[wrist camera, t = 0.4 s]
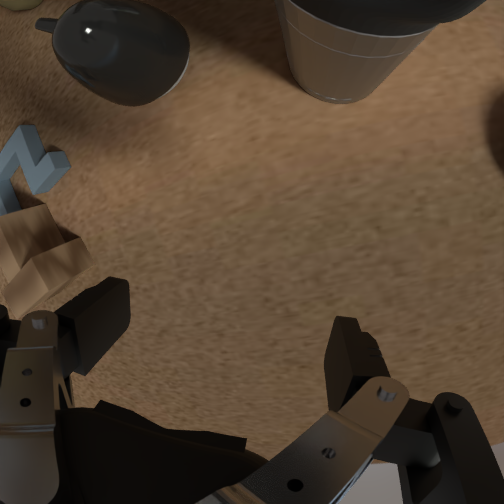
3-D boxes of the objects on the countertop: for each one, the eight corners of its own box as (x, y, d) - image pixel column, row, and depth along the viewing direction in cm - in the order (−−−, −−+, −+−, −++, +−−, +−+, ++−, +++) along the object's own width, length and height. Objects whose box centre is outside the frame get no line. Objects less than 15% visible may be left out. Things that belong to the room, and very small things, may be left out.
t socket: (71, 166, 33) (55, 168, 30) (11, 236, 38) (-2, 241, 35) (46, 110, 31) (31, 109, 28) (-9, 187, 36) (-22, 189, 33)
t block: (95, 264, 36) (48, 290, 27) (58, 293, 39) (16, 319, 30) (57, 191, 34) (5, 202, 26) (24, 229, 37) (-21, 245, 28)
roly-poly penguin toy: (141, 19, 26) (58, -33, 12) (219, 38, 26) (154, -36, 12) (103, 96, 30) (2, 78, 15) (175, 124, 29) (78, 105, 15)
